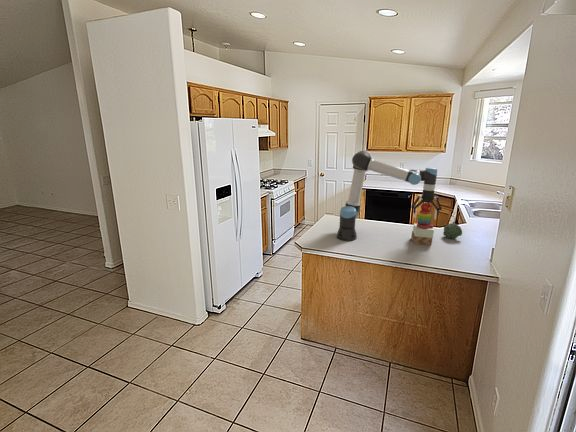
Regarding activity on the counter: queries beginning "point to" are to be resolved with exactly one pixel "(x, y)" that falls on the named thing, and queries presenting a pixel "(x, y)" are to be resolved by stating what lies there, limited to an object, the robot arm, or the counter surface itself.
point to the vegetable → (452, 231)
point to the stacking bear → (425, 216)
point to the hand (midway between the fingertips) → (424, 218)
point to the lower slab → (421, 240)
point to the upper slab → (423, 232)
